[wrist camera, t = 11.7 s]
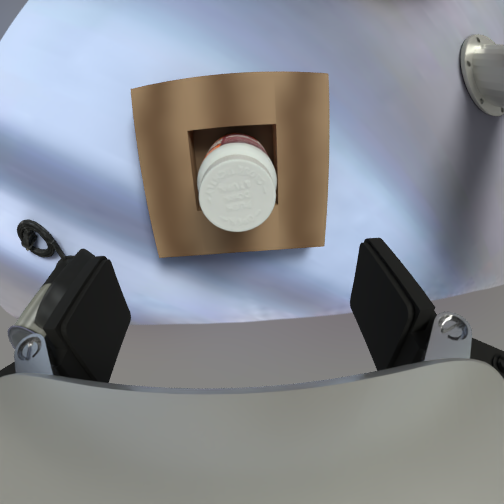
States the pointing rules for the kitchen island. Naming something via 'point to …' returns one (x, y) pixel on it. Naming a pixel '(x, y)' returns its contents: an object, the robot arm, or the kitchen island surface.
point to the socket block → (218, 125)
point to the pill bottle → (237, 183)
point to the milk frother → (52, 288)
